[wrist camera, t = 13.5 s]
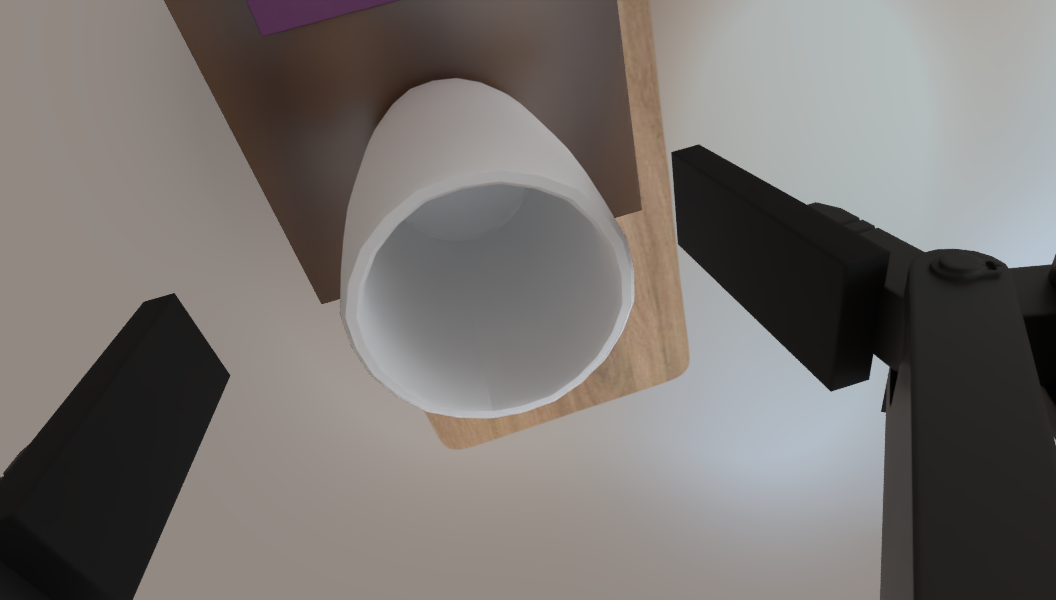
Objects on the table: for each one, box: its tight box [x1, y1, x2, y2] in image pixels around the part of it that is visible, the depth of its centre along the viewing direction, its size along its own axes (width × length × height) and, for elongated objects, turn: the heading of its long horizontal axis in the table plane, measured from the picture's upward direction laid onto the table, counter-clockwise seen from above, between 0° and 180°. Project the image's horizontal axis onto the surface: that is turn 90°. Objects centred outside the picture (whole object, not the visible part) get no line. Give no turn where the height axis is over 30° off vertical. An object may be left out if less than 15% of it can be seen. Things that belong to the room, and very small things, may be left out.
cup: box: [340, 78, 634, 418], centre depth 20 cm, size 8×8×14 cm
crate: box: [164, 0, 642, 304], centre depth 34 cm, size 18×23×26 cm
